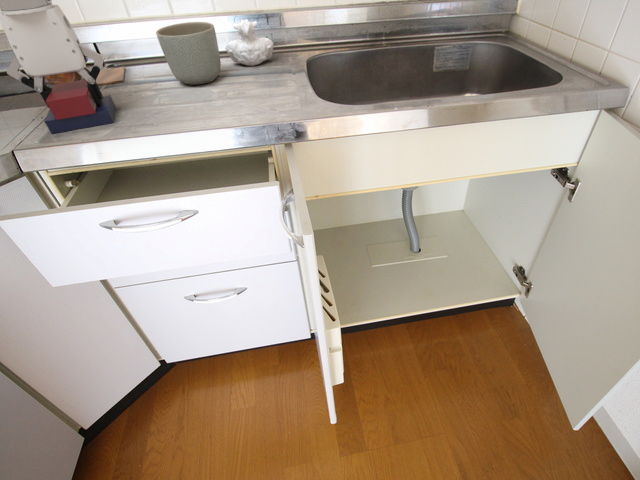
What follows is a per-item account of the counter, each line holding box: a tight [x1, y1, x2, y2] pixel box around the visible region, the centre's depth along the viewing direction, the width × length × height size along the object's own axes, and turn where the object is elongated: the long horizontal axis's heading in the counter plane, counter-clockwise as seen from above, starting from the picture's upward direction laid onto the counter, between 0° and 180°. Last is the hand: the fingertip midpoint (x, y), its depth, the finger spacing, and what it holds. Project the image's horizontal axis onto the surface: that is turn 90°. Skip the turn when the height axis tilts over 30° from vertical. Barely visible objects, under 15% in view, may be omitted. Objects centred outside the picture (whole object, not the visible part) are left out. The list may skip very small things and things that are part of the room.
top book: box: [45, 79, 97, 120], centre depth 76 cm, size 7×10×4 cm
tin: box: [45, 71, 83, 85], centre depth 94 cm, size 15×3×8 cm, turn 72°
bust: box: [225, 18, 274, 67], centre depth 98 cm, size 12×8×11 cm
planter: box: [155, 21, 222, 86], centre depth 90 cm, size 12×12×11 cm
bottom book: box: [43, 94, 117, 135], centre depth 78 cm, size 11×9×2 cm
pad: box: [96, 66, 126, 87], centre depth 98 cm, size 9×12×1 cm
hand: (78, 106), depth 77 cm, fingers closed on top book, 6 cm apart
